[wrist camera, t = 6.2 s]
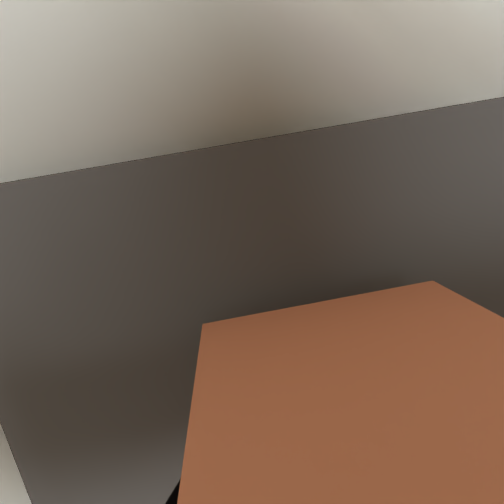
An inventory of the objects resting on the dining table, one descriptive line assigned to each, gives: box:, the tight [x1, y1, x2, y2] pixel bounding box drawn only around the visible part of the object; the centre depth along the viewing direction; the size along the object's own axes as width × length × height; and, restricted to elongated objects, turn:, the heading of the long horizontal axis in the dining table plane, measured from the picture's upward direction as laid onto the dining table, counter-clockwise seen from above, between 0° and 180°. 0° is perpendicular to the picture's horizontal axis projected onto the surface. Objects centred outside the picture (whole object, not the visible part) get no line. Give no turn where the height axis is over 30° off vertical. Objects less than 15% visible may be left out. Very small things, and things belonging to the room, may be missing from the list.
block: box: [177, 281, 504, 504], centre depth 6 cm, size 5×5×5 cm
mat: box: [0, 97, 504, 504], centre depth 9 cm, size 16×12×1 cm
